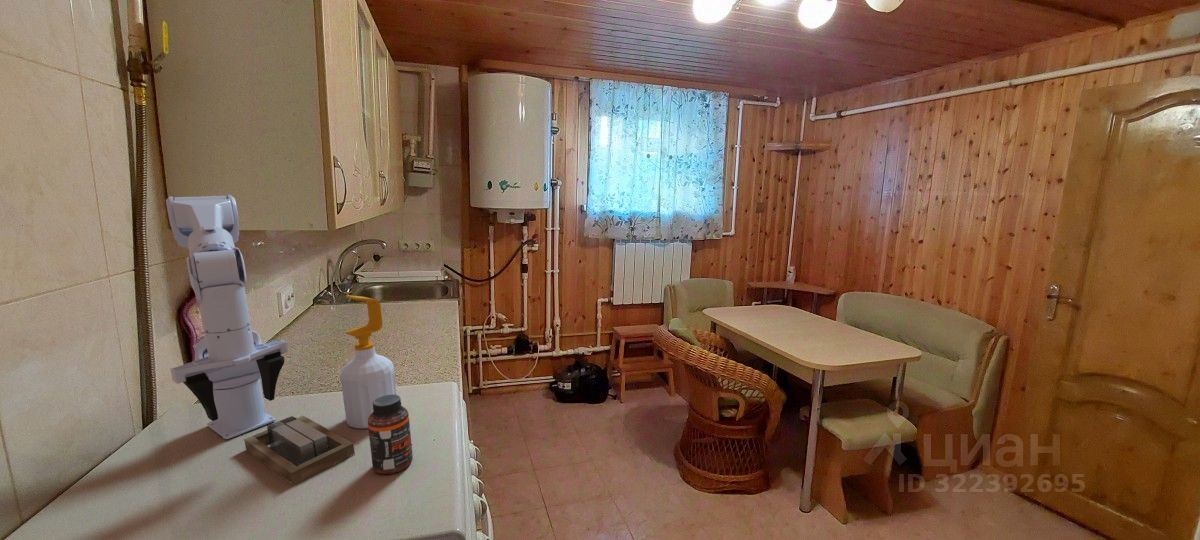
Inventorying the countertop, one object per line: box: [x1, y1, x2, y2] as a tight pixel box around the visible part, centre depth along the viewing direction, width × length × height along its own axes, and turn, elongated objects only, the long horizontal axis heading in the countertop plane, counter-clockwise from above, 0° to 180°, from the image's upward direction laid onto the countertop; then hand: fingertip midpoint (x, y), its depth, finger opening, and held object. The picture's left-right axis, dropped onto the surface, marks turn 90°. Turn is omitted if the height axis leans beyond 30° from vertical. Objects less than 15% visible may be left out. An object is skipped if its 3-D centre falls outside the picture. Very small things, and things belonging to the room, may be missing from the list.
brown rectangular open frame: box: [243, 415, 356, 486], centre depth 78 cm, size 17×9×2 cm, turn 56°
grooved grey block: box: [266, 415, 330, 466], centre depth 78 cm, size 12×4×4 cm, turn 56°
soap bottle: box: [339, 294, 398, 429], centre depth 87 cm, size 9×9×25 cm
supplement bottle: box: [367, 394, 413, 475], centre depth 73 cm, size 6×6×11 cm
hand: (242, 408), depth 74 cm, fingers open, 7 cm apart
